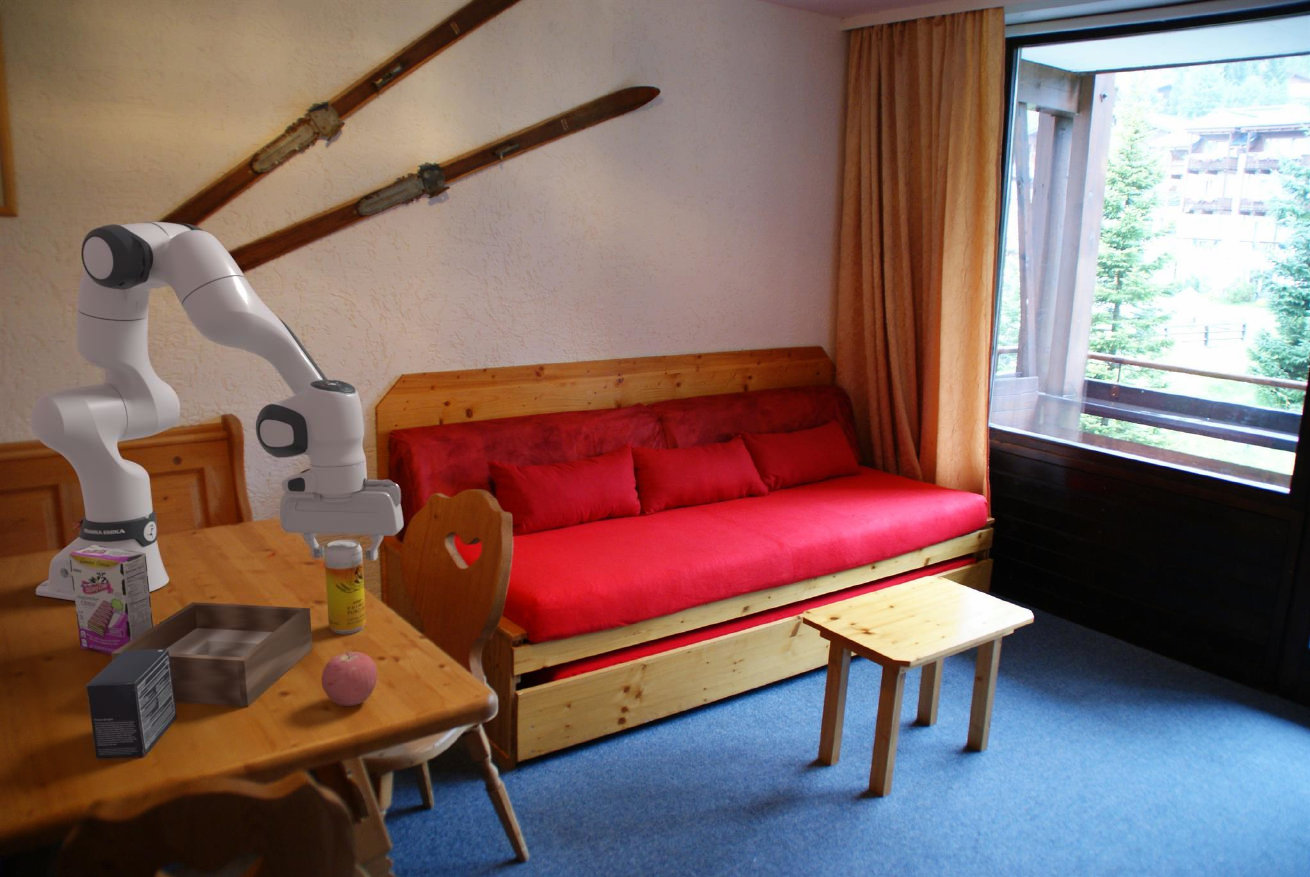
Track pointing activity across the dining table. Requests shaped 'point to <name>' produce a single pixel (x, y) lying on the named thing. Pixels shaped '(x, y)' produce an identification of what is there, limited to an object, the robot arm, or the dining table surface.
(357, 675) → the apple
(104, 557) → the candy bar box
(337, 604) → the beer can
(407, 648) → the dining table surface
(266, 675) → the wooden box
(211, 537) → the dining table surface
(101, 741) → the small box
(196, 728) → the dining table surface
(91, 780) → the dining table surface
